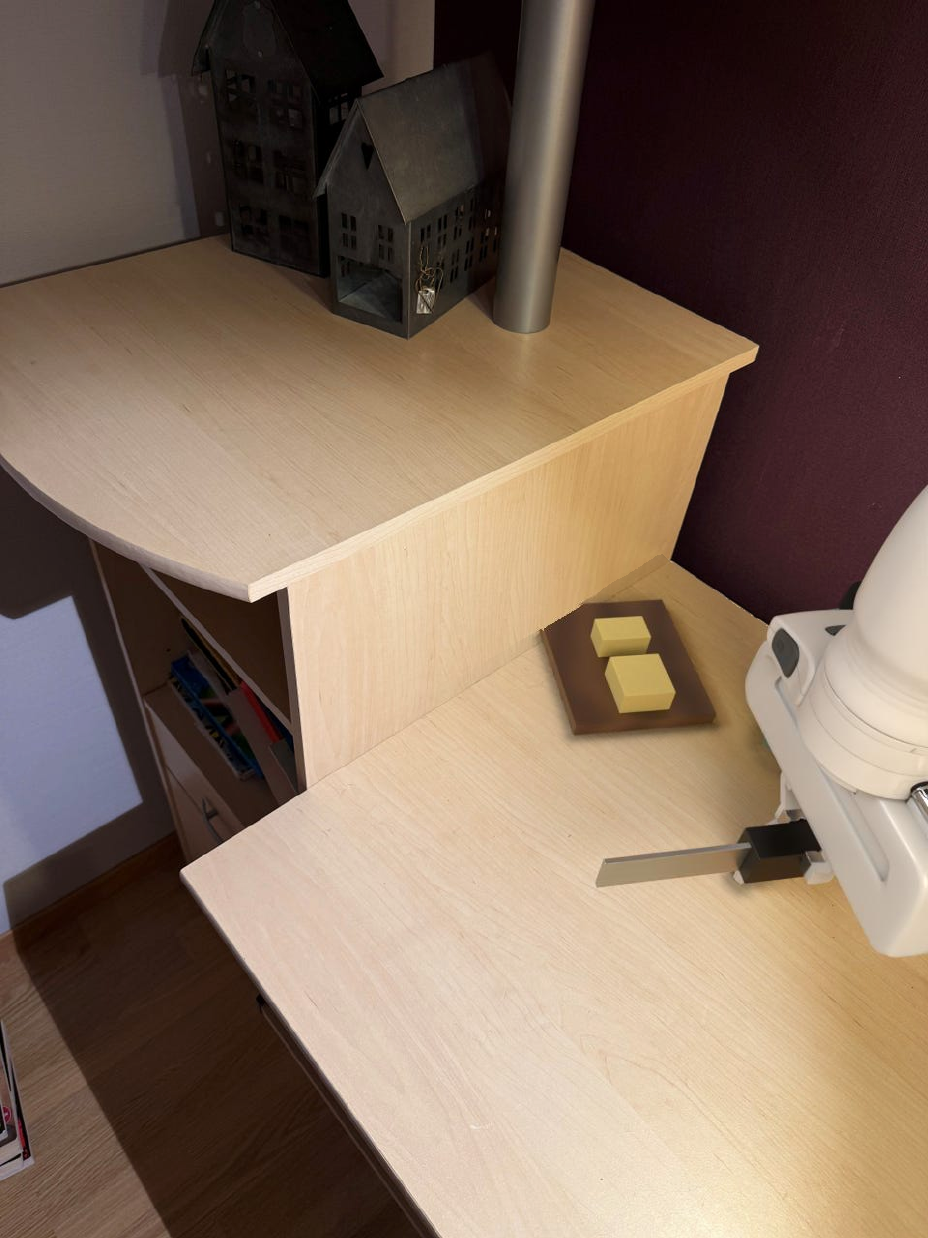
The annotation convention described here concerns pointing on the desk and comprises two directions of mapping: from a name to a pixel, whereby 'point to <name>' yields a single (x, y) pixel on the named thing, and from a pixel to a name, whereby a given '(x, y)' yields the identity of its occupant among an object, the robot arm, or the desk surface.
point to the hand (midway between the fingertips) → (800, 849)
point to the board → (586, 671)
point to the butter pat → (620, 636)
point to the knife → (721, 858)
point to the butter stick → (639, 683)
